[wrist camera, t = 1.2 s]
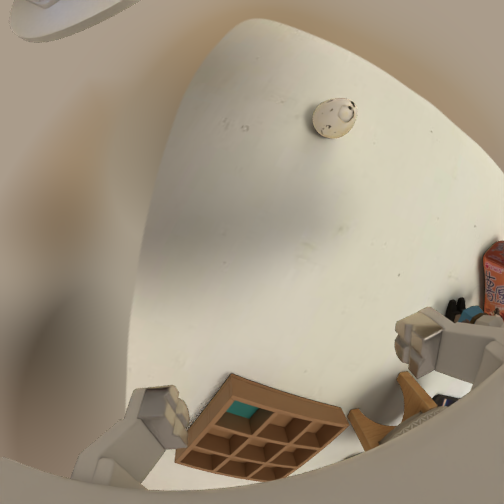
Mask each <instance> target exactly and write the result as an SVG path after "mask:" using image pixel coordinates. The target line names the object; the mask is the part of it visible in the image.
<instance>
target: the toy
mask: <svg viewBox="0 0 504 504" xmlns="http://www.w3.org/2000/svg"><path fill="white" fill-rule="evenodd" d="M499 312H500V311H499V308H496V309H495V310H494V316H490V315H488V314H487V313H484V312H483V311H482V310H481V308H480V307H479V306H471V307H469V308H467V309H466V308H465V300H464V298H463V297H462V298H459V299H458V302H457V305H456V301H455V300H450V302H449V305H448V308H447V312H446V318H448V319H449V320H450V321H452V322H453V323H457V322H461V323H468V324H476V325H484V326H492V327H500V328H504V321H503V319H502V318H501V316H499Z"/></svg>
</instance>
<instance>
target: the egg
mask: <svg viewBox="0 0 504 504" xmlns="http://www.w3.org/2000/svg"><path fill="white" fill-rule="evenodd" d="M357 113H358V111H357V106H356V104H355V103H354V102H353V101H351V100H349V99H345V98H335V99H330V100H327V101H324V102H323V103H321V104H320V105H319V106H318V107H317V108H316V109H315V111H314V114H313V125H314V127H315V129H316V131H317V132H318V133H319V134H321V135H322V136H324V137H327V138H339V137H342V136H344V135H345V134H347V133H348V132H349V131H350V130H351V128H352V127H353V125H354V123H355V121H356V118H357Z"/></svg>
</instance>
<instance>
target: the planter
mask: <svg viewBox="0 0 504 504" xmlns="http://www.w3.org/2000/svg"><path fill="white" fill-rule="evenodd" d="M397 381H398V383H399V385H400V387H401V389H402V392H403V396H404V415H403V419H402V422H401V424H399V425H398V426H386V425H381V424H378V423H375V422H373V421H371V420H370V419H368V418H367V417H366V416H365V415H363V414H362V413H361V411H360V410H359V408H358V409H352V410H350V412H349V414H348V419H349V421H350V423H351V425H352V427H353V429H354V431H355V433H356V434H357V436H358V438H359V440H360V442H361V444H362V446H363V448H364V450H365V452H366V451H368V450H370V449H373V448H375V447H377V446H379V445H382V444H384V443H386V442H388V441H390V440H392V439H394V438H396V437H398V436H400V435H402V434H404V433H406V432H408V431H409V430H411V429H413V428H415V427H417V426H418V425H420V424H422V423H424V422H425V421H427V420H429V419H430V418H432V417H434V416H435V415H437V414H438V413H440V412H441V411H443V410H445V409H446V408H448V407H447V406H441V407H437V404H436V403H435V402H434V401H433V400H432V398H431V397H430V396H429V395H428V394H427V393H426V391H425V390H424V389H423V388H422V387H421V386H420V385H419V383H418V382H417V381H416V380H415V379H414V378H413V377H412V376H411V374H410V373H409V372H408V371H406V372H401V373H399V375H398V377H397ZM436 407H437V408H436Z"/></svg>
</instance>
